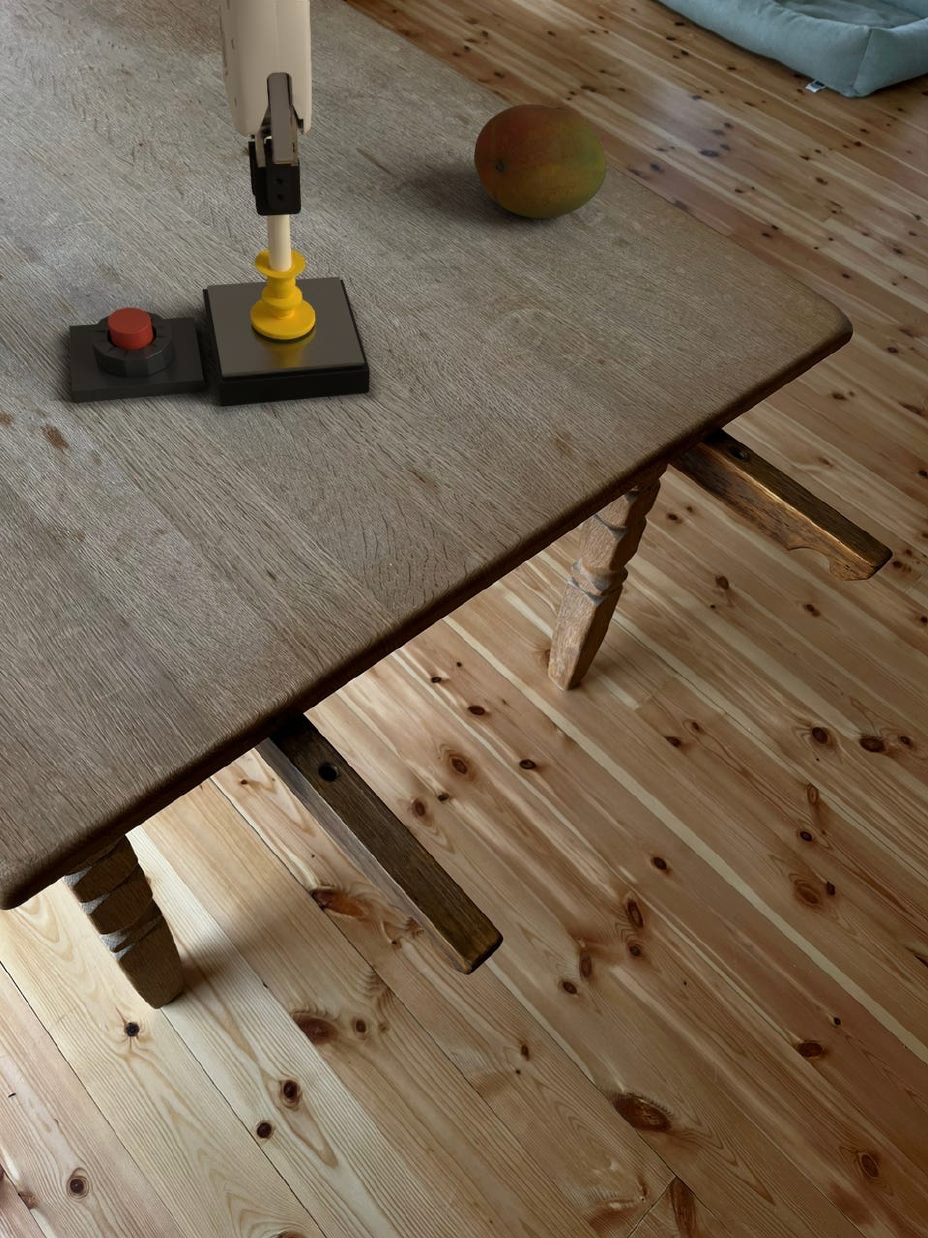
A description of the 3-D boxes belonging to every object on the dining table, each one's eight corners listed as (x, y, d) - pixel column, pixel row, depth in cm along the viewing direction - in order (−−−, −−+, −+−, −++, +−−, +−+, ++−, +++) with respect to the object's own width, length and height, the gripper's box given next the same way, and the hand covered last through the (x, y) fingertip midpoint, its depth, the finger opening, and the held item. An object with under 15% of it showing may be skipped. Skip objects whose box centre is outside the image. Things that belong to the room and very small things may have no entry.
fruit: (451, 196, 101) (460, 96, 93) (540, 161, 107) (557, 64, 99) (529, 255, 97) (546, 155, 88) (619, 215, 102) (642, 118, 94)
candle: (326, 329, 82) (324, 145, 70) (267, 347, 80) (255, 161, 68) (297, 292, 84) (290, 108, 72) (239, 309, 82) (222, 122, 70)
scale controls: (75, 403, 79) (66, 373, 76) (72, 337, 83) (64, 307, 81) (205, 391, 81) (201, 361, 79) (195, 327, 86) (191, 298, 83)
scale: (221, 406, 80) (217, 377, 78) (205, 312, 87) (201, 282, 84) (369, 392, 83) (370, 363, 80) (342, 302, 90) (343, 272, 87)
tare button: (112, 352, 79) (108, 334, 77) (110, 326, 81) (106, 308, 79) (154, 349, 80) (151, 331, 78) (151, 323, 81) (148, 305, 80)
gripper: (183, -138, 63) (212, 148, 77) (210, -27, 54) (237, 271, 69) (303, -134, 64) (310, 144, 79) (348, -26, 56) (346, 264, 70)
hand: (276, 201), depth 74 cm, fingers closed on candle
